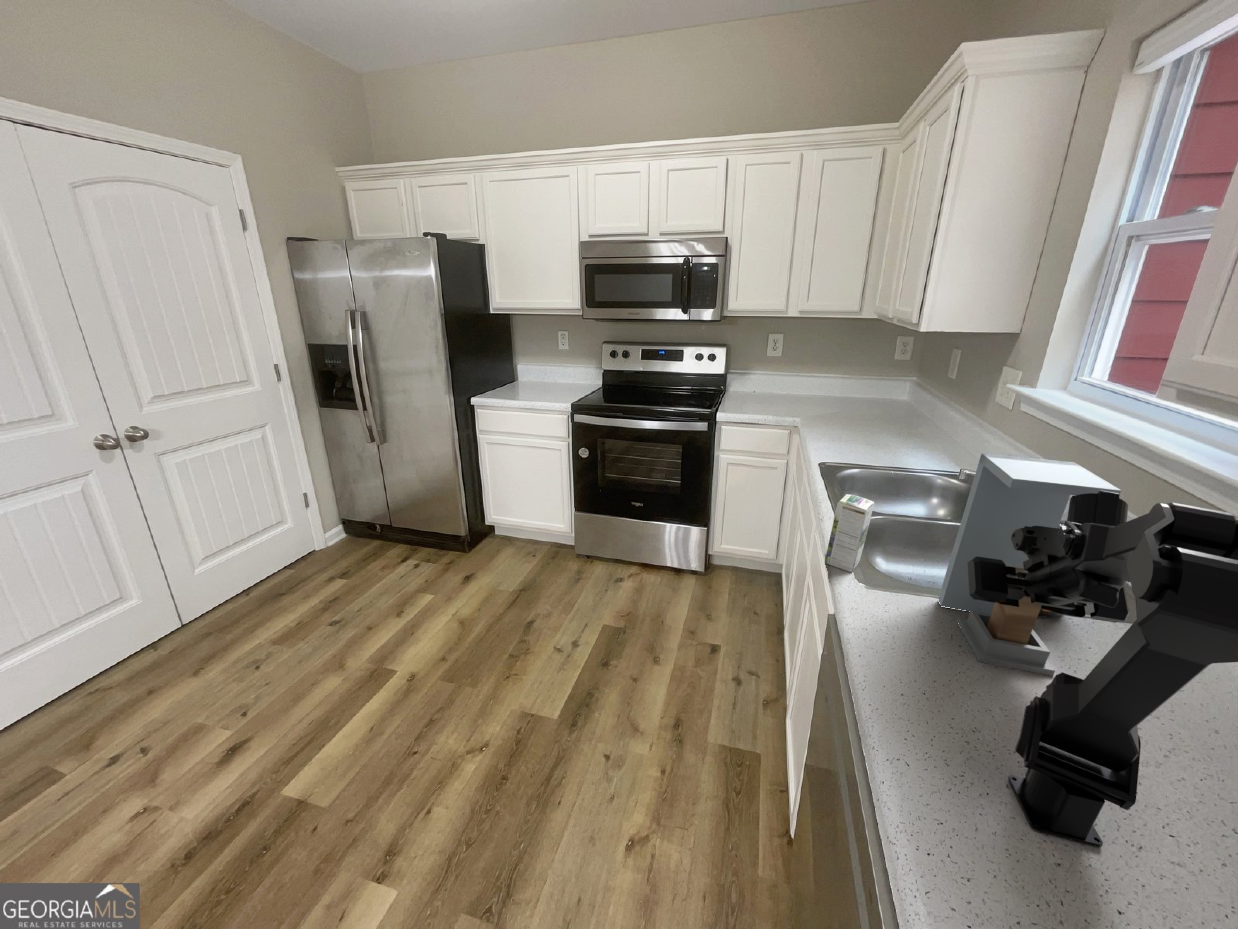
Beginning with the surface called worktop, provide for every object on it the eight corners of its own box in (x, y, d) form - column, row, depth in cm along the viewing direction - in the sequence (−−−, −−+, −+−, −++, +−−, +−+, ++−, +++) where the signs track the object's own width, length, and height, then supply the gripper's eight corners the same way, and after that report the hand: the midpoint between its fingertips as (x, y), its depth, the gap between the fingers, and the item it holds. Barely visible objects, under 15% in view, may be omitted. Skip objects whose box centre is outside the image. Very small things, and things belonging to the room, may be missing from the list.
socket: (1053, 676, 76) (1060, 657, 75) (978, 661, 79) (984, 643, 78) (1023, 634, 85) (1029, 617, 84) (957, 622, 88) (962, 606, 87)
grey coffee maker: (1051, 660, 80) (1121, 490, 69) (959, 643, 83) (1013, 478, 73) (1017, 614, 90) (1074, 462, 80) (937, 601, 94) (981, 452, 83)
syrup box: (832, 553, 110) (844, 492, 104) (861, 562, 106) (875, 500, 101) (824, 563, 105) (836, 500, 100) (853, 573, 102) (867, 509, 97)
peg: (1025, 648, 79) (1049, 584, 75) (996, 643, 80) (1019, 579, 76) (1014, 632, 83) (1037, 570, 79) (986, 628, 84) (1007, 566, 80)
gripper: (1148, 530, 67) (1075, 560, 81) (990, 510, 72) (946, 542, 86) (1166, 613, 63) (1085, 630, 77) (996, 586, 68) (949, 607, 82)
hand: (1013, 599), depth 80 cm, fingers closed on peg, 4 cm apart
